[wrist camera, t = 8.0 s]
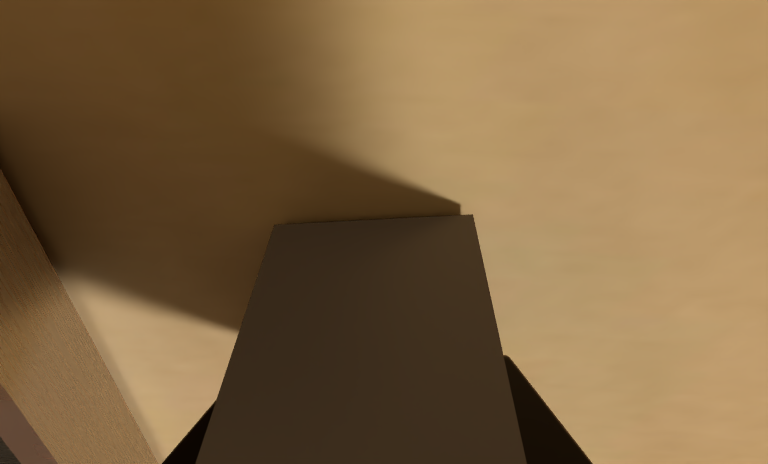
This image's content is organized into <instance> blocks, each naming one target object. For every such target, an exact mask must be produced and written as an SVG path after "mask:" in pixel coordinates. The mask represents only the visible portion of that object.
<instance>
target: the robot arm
mask: <svg viewBox="0 0 768 464" xmlns="http://www.w3.org/2000/svg"><path fill="white" fill-rule="evenodd" d="M503 356H504V361H505V365H506V370H507V375H508V379H509V384H510V388H511V393H512V398H513V402H514V407H515V412H516V416H517V421H518V425H519V430H520V435H521V439H522V444H523V448H524V453H525V458H526V462H527V464H593V463H592V462H591V461H590V460H589V458H588V457H587V456H586V454H585V453H584V452H583V451H582V449H581V448H580V447H579V446H578V444H577V443H576V442H575V440H574V439H573V438H572V437H571V435H570V434H569V433H568V431H567V430H566V429H565V428H564V426H563V425H562V424H561V423H560V421H559V420H558V419H557V417H556V416H555V415H554V414H553V412H552V411H551V410H550V408H549V407H548V406H547V405H546V403H545V402H544V401H543V399H542V398H541V397H540V396H539V394H538V393H537V392H536V391H535V389H534V388H533V387H532V385H531V384H530V383H529V382H528V380H527V379H526V378H525V376H524V375H523V374H522V373H521V371H520V370H519V369H518V368H517V366H516V365H515V364H514V362H513V361H512V360H511V359H510V358H509V357H508V356H506V355H503ZM215 403H216V401H215V402H214V403H213V404H212V406H211V407H210V408H209V409H208V410H207V411H206V413H205V414H204V415H203V416H202V417H201V418H200V420H199V421H198V422H197V423H196V424H195V425H194V427H193V428H192V429H191V430H190V431H189V432H188V434H187V435H186V436H185V437H184V438H183V439H182V441H181V442H180V443H179V444H178V445H177V447H176V448H175V449H174V450H173V451H172V452H171V454H170V455H169V456H168V457H167V458H166V459H165V461H164V462H163V463H162V464H196V461H197V458H198V455H199V452H200V448H201V445H202V442H203V439H204V436H205V433H206V430H207V427H208V424H209V421H210V418H211V415H212V412H213V409H214V406H215Z"/></svg>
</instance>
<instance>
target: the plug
mask: <svg viewBox="0 0 768 464" xmlns="http://www.w3.org/2000/svg"><path fill="white" fill-rule="evenodd" d="M196 464H527V462H526V458H525V453H524V448H523V444H522V439H521V435H520V430H519V425H518V421H517V416H516V412H515V407H514V402H513V398H512V393H511V388H510V384H509V379H508V375H507V370H506V365H505V361H504V356H503V352H502V347H501V342H500V338H499V333H498V328H497V324H496V319H495V315H494V310H493V305H492V301H491V296H490V292H489V287H488V282H487V278H486V273H485V268H484V264H483V259H482V255H481V250H480V245H479V241H478V236H477V232H476V227H475V222H474V218H473V214H472V215H453V216H434V217H415V218H396V219H377V220H358V221H339V222H320V223H301V224H282V225H274V228H273V231H272V234H271V237H270V240H269V243H268V246H267V249H266V252H265V255H264V258H263V261H262V264H261V268H260V271H259V274H258V277H257V280H256V283H255V286H254V289H253V292H252V295H251V298H250V301H249V304H248V307H247V310H246V313H245V316H244V319H243V322H242V325H241V328H240V331H239V334H238V337H237V340H236V343H235V346H234V349H233V352H232V355H231V358H230V361H229V364H228V367H227V370H226V373H225V376H224V379H223V382H222V385H221V388H220V391H219V394H218V397H217V400H216V403H215V406H214V409H213V412H212V415H211V418H210V421H209V424H208V427H207V430H206V433H205V436H204V439H203V442H202V445H201V448H200V452H199V455H198V458H197V461H196Z"/></svg>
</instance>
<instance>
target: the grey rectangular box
mask: <svg viewBox="0 0 768 464" xmlns="http://www.w3.org/2000/svg"><path fill="white" fill-rule="evenodd" d="M0 464H158V463H157V461H156V459H155V457H154V455H153V453H152V451H151V450H150V448H149V446H148V444H147V442H146V440H145V438H144V437H143V435H142V433H141V431H140V429H139V427H138V425H137V423H136V422H135V420H134V418H133V416H132V414H131V412H130V410H129V408H128V407H127V405H126V403H125V401H124V399H123V397H122V395H121V393H120V392H119V390H118V388H117V386H116V384H115V382H114V380H113V378H112V377H111V375H110V373H109V371H108V369H107V367H106V365H105V363H104V362H103V360H102V358H101V356H100V354H99V352H98V350H97V348H96V347H95V345H94V343H93V341H92V339H91V337H90V335H89V333H88V332H87V330H86V328H85V326H84V324H83V322H82V320H81V318H80V317H79V315H78V313H77V311H76V309H75V307H74V305H73V303H72V302H71V300H70V298H69V296H68V294H67V292H66V290H65V288H64V287H63V285H62V283H61V281H60V279H59V277H58V275H57V274H56V272H55V270H54V268H53V266H52V264H51V262H50V260H49V259H48V257H47V255H46V253H45V251H44V249H43V247H42V245H41V244H40V242H39V240H38V238H37V236H36V234H35V232H34V230H33V229H32V227H31V225H30V223H29V221H28V219H27V217H26V215H25V214H24V212H23V210H22V208H21V206H20V204H19V202H18V200H17V199H16V197H15V195H14V193H13V191H12V189H11V187H10V185H9V184H8V182H7V180H6V178H5V176H4V174H3V172H2V170H1V169H0Z"/></svg>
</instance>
